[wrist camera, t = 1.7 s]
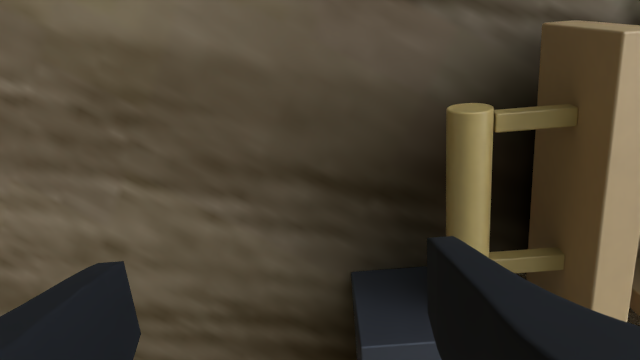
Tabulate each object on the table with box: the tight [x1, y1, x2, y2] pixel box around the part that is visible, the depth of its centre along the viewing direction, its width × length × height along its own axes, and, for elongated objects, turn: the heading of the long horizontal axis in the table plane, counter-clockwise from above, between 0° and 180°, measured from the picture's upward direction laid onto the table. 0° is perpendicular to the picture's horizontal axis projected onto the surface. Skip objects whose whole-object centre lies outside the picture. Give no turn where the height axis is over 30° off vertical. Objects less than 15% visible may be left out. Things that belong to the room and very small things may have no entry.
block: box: [351, 266, 441, 360], centre depth 20 cm, size 5×5×5 cm
